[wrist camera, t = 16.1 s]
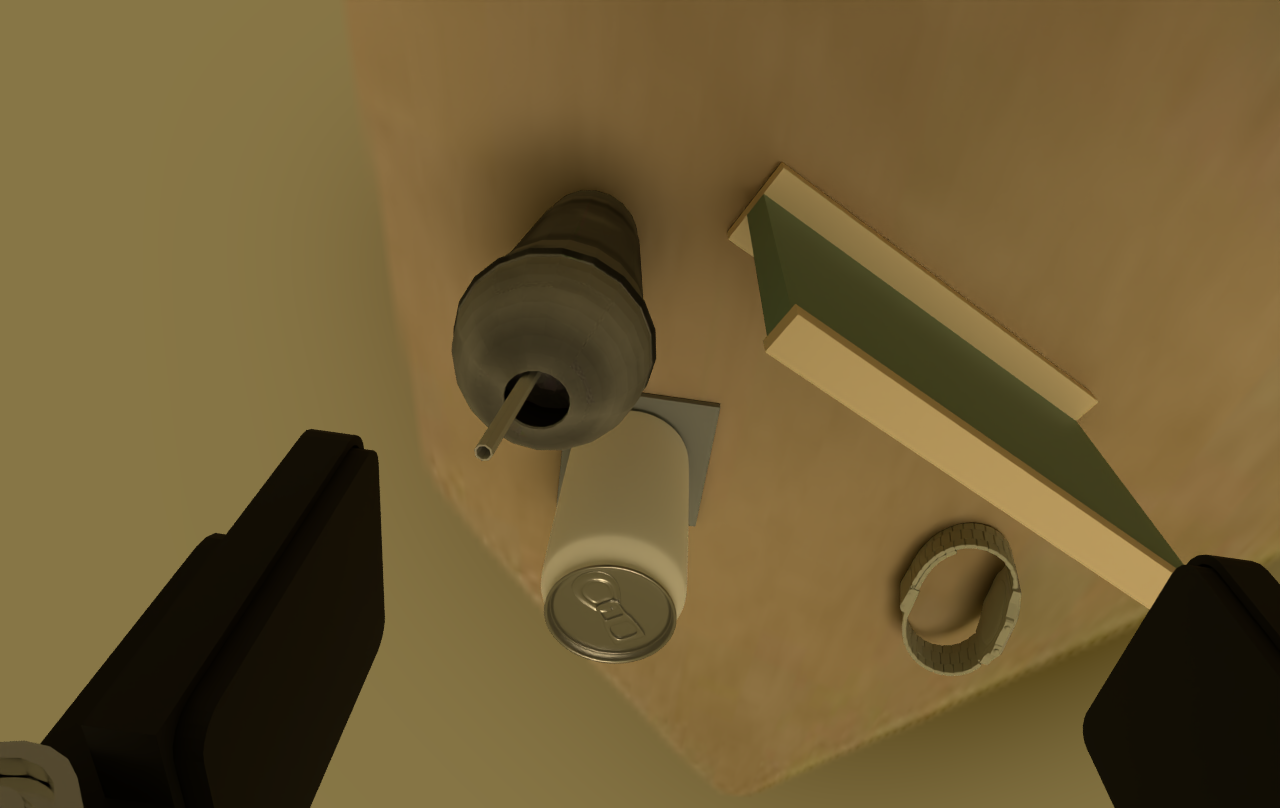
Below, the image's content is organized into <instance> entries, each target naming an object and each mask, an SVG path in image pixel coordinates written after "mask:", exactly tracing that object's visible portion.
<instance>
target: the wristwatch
mask: <svg viewBox="0 0 1280 808" xmlns="http://www.w3.org/2000/svg"><path fill="white" fill-rule="evenodd" d="M964 548H977V549H980V550H985V551H987V550H988V552H990V553H992V554H994V555H997V557H998V558H1000V559H1001V560H1002V561H1004V562H1005V564H1006V565H1005V566H1004V568H1003V569H1002V570H1001V571H1000V572H999V573H997V575H996V577H995V579H994V581H993V583H992V585H991V587H990V590H989V592H988V594H987V595H986V598H985V600H984V602H983V608H982V612H981V616H980V620H979V623H978V626H977V629H976V634H973V635H972V636H971V637H969V639H967V640H965V641H963V642H961V643H959V644H954V645H952V646H951V645H943V646H941V645H936V644H931V643H929V642H927V641H924V640H923V639H922V638H921V637H919V636H917V635H916V633H915V632H914V631H913V630H912V629H911V626H910V624H909V622H908V619H907V618H908V614H909V613H910V611H911V609H912V607H913V605H914V602H915V600H916V598H917V596H918V593H919V588H920V587H921V585H922V582H923V581H924V580H925V578H926V577H927V575H928V573H929V572H930V571H931V570H932V568H934V567H935V566H936V565H937V564H938V563H939V562H940V561H942V560H944V559H946V558H947V557H949V556H952V555H955V554H957V551H956V550H959V549H964ZM1020 600H1021V589H1020V585H1019V580H1018V575H1017V571H1016V566H1015V564H1014V559H1013V555H1012V550H1011V548H1010V546H1009V543H1008V541H1007V540H1006V539H1005V538H1004V536H1002V534H1001V533H1000V532H998V531H997V530H994V528H991V527H989V526H984V525H983V524H977V523H974V524H973V523H964V524H958V525H955V526H953V527H949V528H947V529H945V530H943V531H941V532H939V533H938V534H937V535H935V536H934V537H932V538H931V539H930V540H929V541H928V542H927V543H926V544H925V545H924V546H923V547H922V548H921V550H920V551H919V552H918V554H917V555H916V557H915V558H914V560H913V562H912V564H911V565H910V567H909V569H908V571H907V572H906V574H905V576H904V577H903V579H902V581H901V582H900V609H901V611H902V637H903V641H904V645H905V647H906V649H907V651H908V653H910V656H911V657H912V658H913V660H915V661H916V662H917V663H918V664H919V665H920V666H921V667H924V668H925V669H927V670H929V671H930V672H933V671H934V673H937V674H940V675H943V674H944V675H946V676H954V675H955V676H959V675H964V673H965V674H968V673H971V672H973V670H976V669H978V668H979V667H981V663H982V664H985V665H988V664H989V663H990V662H991V661H992V660H994V659H995V658H996V657H998V656H999V655H1001V653H1002V652H1003V650H1004V647H1005V645H1006V643H1007V641H1008V639H1009V637H1010V635H1011V633H1012V631H1013V629H1014V627H1015V625H1016V622H1017V620H1018V616H1019V611H1020V604H1021V601H1020Z"/></svg>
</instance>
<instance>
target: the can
mask: <svg viewBox="0 0 1280 808" xmlns="http://www.w3.org/2000/svg"><path fill="white" fill-rule="evenodd" d="M688 508H689V461H688V453H687V449H686V447H685V444H684V442H683V440H682V439H681V437H680V436H679V434H678V433H677V432H676V431H675V430H674V429H673V428H672V427H671V426H670V425H669V424H667V423H666V422H664V421H663V420H661V419H659V418H657V417H655V416H653V415H650V414H647V413H643V412H638V411H629V413H628V414H627V415H626V416H625V418H624V419H623V420H622V421H621V423H620V424H619V425H617V426H616V427H615V428H614V429H612V430H611V431H609V432H607V433H606V434H604V435H603V436H601V437H599V438H598V439H596V440H595V441H593V442H591V443H588V444H584V445H580V446H577V447H573V448H571V451H570V455H569V459H568V463H567V467H566V471H565V475H564V479H563V483H562V487H561V492H560V496H559V500H558V504H557V508H556V513H555V517H554V521H553V525H552V530H551V534H550V538H549V543H548V547H547V551H546V556H545V560H544V565H543V570H542V576H541V593H542V597H543V601H544V603H545V605H544V616H545V621H546V624H547V626H548V629H549V630H550V632H551V634H552V635H553V636H554V638H555V639H556V640H557V641H558V642H559V643H560V644H561V645H562V646H564V647H565V648H566V649H568V650H569V651H571V652H573V653H574V654H576V655H579V656H581V657H583V658H586V659H589V660H592V661H597V662H602V663H628V662H634V661H638V660H641V659H644V658H646V657H648V656H651V655H652V654H654V653H656V652H657V651H659V650H660V649H661V648H662V647H664V646H665V645H666V643H667V642H668V641H669V640H670V638H671V637H672V635H673V633H674V630H675V627H676V620H677V619H678V617H679V615H680V613H681V612H682V609H683V607H684V604H685V599H686V592H687V568H688Z"/></svg>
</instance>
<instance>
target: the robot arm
mask: <svg viewBox="0 0 1280 808" xmlns="http://www.w3.org/2000/svg"><path fill="white" fill-rule="evenodd" d="M378 464H379V463H378V456H377V453H376V452H375V451H373V450H366V449H364V446H363V442H362V439H361V438H360V437H359V436H357V435H350V434H343V433H336V432H328V431H321V430H314V429H310V430H306V431H305V432H304V433H303V434H302V435H301V436H300V438H299V439H298V441H297V442H296V443H295V444H294V446H293V447H292V448H291V450H290V451H289V452H288V454H287V455H286V456H285V458H284V459H283V460H282V462H281V463H280V464H279V465H278V467H277V468H276V469H275V471H274V472H273V473H272V475H271V476H270V477H269V479H268V480H267V481H266V483H265V484H264V485H263V487H262V488H261V489H260V491H259V492H258V493H257V495H256V496H255V497H254V498H253V500H252V501H251V503H250V504H249V505H248V506H247V508H246V509H245V510H244V512H243V513H242V514H241V516H240V517H239V518H238V520H237V521H236V522H235V523H234V525H233V526H232V527H231V529H230V530H229V531H228V533H227V534H226V535H225V534H218V533H215V534H212V535H210V536H208V537H206V538H205V539H204V540H203V541H202V542H201V543H200V544H199V545H198V546H197V547H196V548H195V549H194V550H193V552H192V553H191V554H190V555H189V557H188V558H187V559H186V561H185V562H184V563H183V564H182V565H181V567H180V568H179V569H178V570H177V572H176V573H175V574H174V576H173V577H172V578H171V579H170V581H169V582H168V583H167V584H166V586H165V587H164V588H163V589H162V591H161V592H160V593H159V595H158V596H157V597H156V598H155V600H154V601H153V602H152V603H151V605H150V606H149V607H148V608H147V610H146V611H145V612H144V614H143V615H142V616H141V617H140V619H139V620H138V621H137V622H136V624H135V625H134V626H133V627H132V629H131V630H130V631H129V632H128V634H127V635H126V636H125V637H124V639H123V640H122V641H121V643H120V644H119V645H118V646H117V648H116V649H115V650H114V651H113V653H112V654H111V655H110V656H109V658H108V659H107V660H106V662H105V663H104V664H103V665H102V667H101V668H100V669H99V670H98V672H97V673H96V674H95V675H94V677H93V678H92V679H91V680H90V682H89V683H88V684H87V686H86V687H85V688H84V689H83V690H82V692H81V693H80V694H79V696H78V697H77V698H76V700H75V701H74V702H73V703H72V704H71V706H70V707H69V708H68V709H67V711H66V712H65V713H64V715H63V716H62V717H61V718H60V720H59V721H58V722H57V723H56V725H55V726H54V727H53V728H52V730H51V731H50V732H49V733H48V735H47V736H46V737H45V739H44V740H43V741H42V742H41V744H36V743H32V742H28V741H10V742H0V808H310V806H311V804H312V802H313V799H314V797H315V795H316V792H317V790H318V788H319V786H320V783H321V781H322V779H323V776H324V774H325V772H326V769H327V767H328V764H329V762H330V760H331V758H332V756H333V753H334V751H335V749H336V746H337V744H338V742H339V739H340V737H341V735H342V732H343V730H344V728H345V725H346V723H347V721H348V718H349V716H350V714H351V712H352V709H353V707H354V705H355V702H356V700H357V698H358V695H359V693H360V691H361V688H362V686H363V684H364V682H365V679H366V677H367V675H368V672H369V670H370V668H371V666H372V663H373V661H374V658H375V656H376V654H377V652H378V649H379V646H380V643H381V640H382V635H383V631H384V623H385V610H384V587H383V561H382V537H381V512H380V487H379V465H378ZM1083 736H1084V741H1085V744H1086V747H1087V750H1088V752H1089V754H1090V756H1091V758H1092V760H1093V763H1094V765H1095V767H1096V769H1097V771H1098V773H1099V775H1100V777H1101V780H1102V782H1103V784H1104V786H1105V788H1106V790H1107V793H1108V795H1109V797H1110V799H1111V801H1112V803H1113V805H1114V807H1115V808H1280V584H1279V583H1278V582H1277V581H1276V580H1275V578H1274V577H1273V576H1272V575H1271V574H1270V573H1269V571H1268V570H1266V569H1265V568H1264V567H1263V566H1262V565H1260V564H1259V563H1256V562H1253V561H1248V560H1241V559H1234V558H1226V557H1219V556H1212V555H1198V556H1196V557H1195V558H1193V559H1191V560H1190V561H1189V562H1188V564H1187V565H1181V566H1179V567H1178V568H1176V569H1175V570H1174V572H1173V573H1172V574H1171V576H1170V577H1169V579H1168V581H1167V582H1166V584H1165V586H1164V587H1163V589H1162V590H1161V592H1160V594H1159V595H1158V597H1157V599H1156V600H1155V602H1154V604H1153V605H1152V607H1151V608H1150V610H1149V612H1148V613H1147V615H1146V617H1145V618H1144V620H1143V622H1142V623H1141V625H1140V626H1139V628H1138V630H1137V631H1136V633H1135V635H1134V636H1133V638H1132V639H1131V641H1130V643H1129V644H1128V646H1127V648H1126V650H1125V651H1124V653H1123V654H1122V656H1121V658H1120V659H1119V661H1118V663H1117V664H1116V666H1115V667H1114V669H1113V671H1112V672H1111V674H1110V675H1109V677H1108V679H1107V680H1106V682H1105V684H1104V685H1103V687H1102V689H1101V690H1100V692H1099V693H1098V695H1097V697H1096V698H1095V700H1094V702H1093V703H1092V705H1091V707H1090V708H1089V710H1088V711H1087V713H1086V716H1085V718H1084V723H1083Z"/></svg>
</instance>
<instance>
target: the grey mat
mask: <svg viewBox="0 0 1280 808" xmlns="http://www.w3.org/2000/svg"><path fill="white" fill-rule="evenodd" d="M630 411H638V412H643V413H647V414H650V415H653V416H655V417H657V418H659V419H661V420H663V421H664V422H666V423H667V424H669V425H670V426H671V427H672V428H673V429H674V430H675V431H676V432H677V433H678V434H679V436H680V437H681V439H682V440H683V442H684V444H685V447H686V449H687V453H688V461H689V508H688V525H689V526H696V521H697V516H698V511H699V506H700V502H701V497H702V492H703V487H704V483H705V478H706V473H707V468H708V464H709V459H710V454H711V449H712V444H713V440H714V435H715V430H716V425H717V421H718V416H719V411H720V404H717V403H710V402H703V401H696V400H689V399H682V398H675V397H668V396H661V395H654V394H647V393H641V396H640V398H639V399H638V401H637V403H636V404H635V405H634V406H633V408H632V409H631V410H630ZM570 451H571V448H569V449H566V450H562V456H561V467H560V477H559V487H558V497H557V504H558V500H559V496H560V492H561V487H562V483H563V479H564V475H565V471H566V467H567V463H568V459H569V455H570Z"/></svg>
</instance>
